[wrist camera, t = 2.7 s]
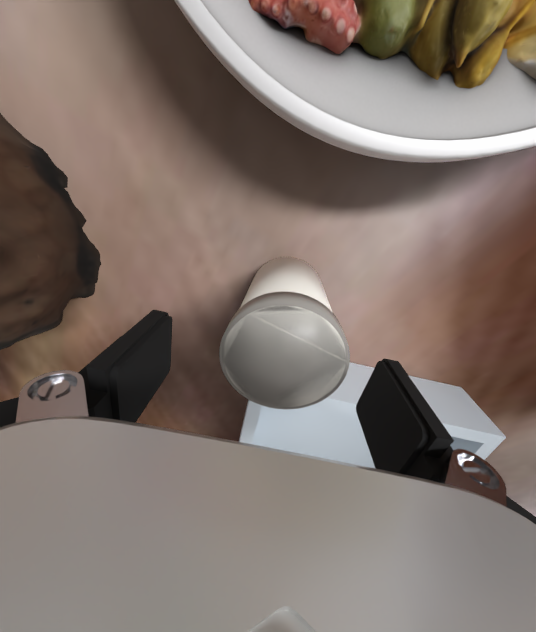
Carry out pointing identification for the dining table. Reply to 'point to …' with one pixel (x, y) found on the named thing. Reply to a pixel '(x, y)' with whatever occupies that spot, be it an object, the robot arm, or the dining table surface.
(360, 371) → the tote
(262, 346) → the canister
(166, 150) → the dining table surface
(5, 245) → the owl
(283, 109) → the bowl
